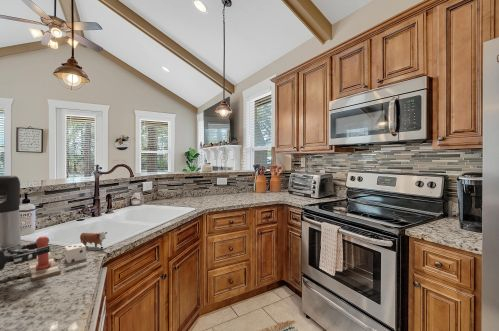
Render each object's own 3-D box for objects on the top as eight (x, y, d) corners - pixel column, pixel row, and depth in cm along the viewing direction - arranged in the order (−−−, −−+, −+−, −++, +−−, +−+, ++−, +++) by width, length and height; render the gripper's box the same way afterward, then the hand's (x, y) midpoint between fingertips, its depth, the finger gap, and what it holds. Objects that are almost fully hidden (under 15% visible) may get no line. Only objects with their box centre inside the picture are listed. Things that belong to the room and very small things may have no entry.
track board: (25, 259, 103) (25, 256, 103) (50, 254, 109) (50, 251, 108) (31, 281, 85) (31, 277, 85) (60, 273, 91) (60, 270, 91)
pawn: (35, 267, 93) (34, 236, 93) (50, 263, 96) (48, 233, 96) (36, 270, 90) (35, 239, 90) (51, 267, 93) (50, 236, 93)
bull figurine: (103, 251, 111) (103, 233, 111) (77, 249, 114) (77, 231, 113) (110, 248, 115) (110, 230, 115) (86, 246, 118) (85, 228, 118)
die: (65, 261, 101) (64, 246, 101) (82, 256, 105) (82, 242, 105) (68, 265, 97) (67, 250, 97) (86, 261, 101) (85, 246, 101)
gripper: (-12, 255, 75) (52, 240, 89) (-27, 247, 82) (34, 233, 97) (-10, 280, 76) (53, 260, 90) (-26, 270, 83) (35, 253, 97)
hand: (43, 246), depth 93 cm, fingers open, 8 cm apart
